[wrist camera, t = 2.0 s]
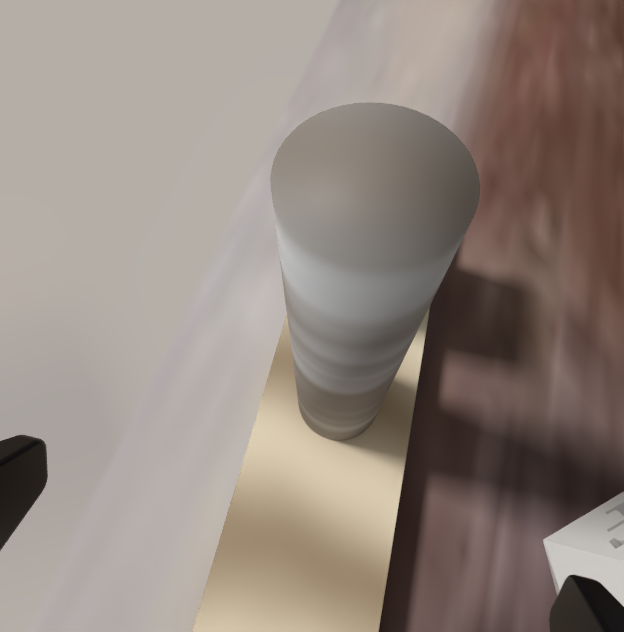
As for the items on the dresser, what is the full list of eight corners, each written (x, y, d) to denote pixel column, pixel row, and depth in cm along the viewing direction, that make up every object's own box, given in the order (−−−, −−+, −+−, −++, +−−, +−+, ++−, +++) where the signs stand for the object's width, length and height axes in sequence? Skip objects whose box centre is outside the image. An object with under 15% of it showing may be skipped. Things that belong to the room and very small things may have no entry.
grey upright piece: (359, 720, 16) (554, 1514, 3) (187, 666, 16) (-273, 1123, 4) (439, 228, 24) (580, -125, 11) (322, 205, 24) (330, -154, 12)
